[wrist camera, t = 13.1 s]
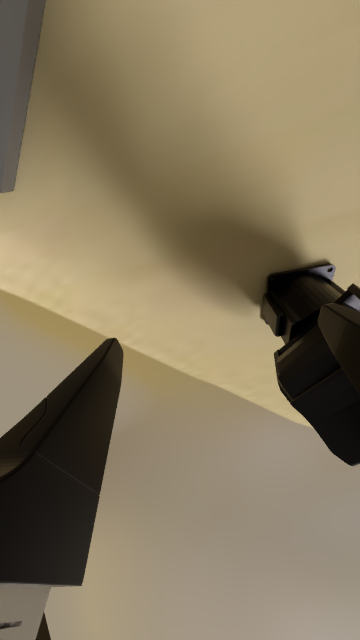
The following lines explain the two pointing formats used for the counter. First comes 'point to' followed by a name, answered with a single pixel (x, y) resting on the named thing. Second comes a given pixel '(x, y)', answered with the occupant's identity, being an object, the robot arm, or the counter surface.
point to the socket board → (16, 78)
